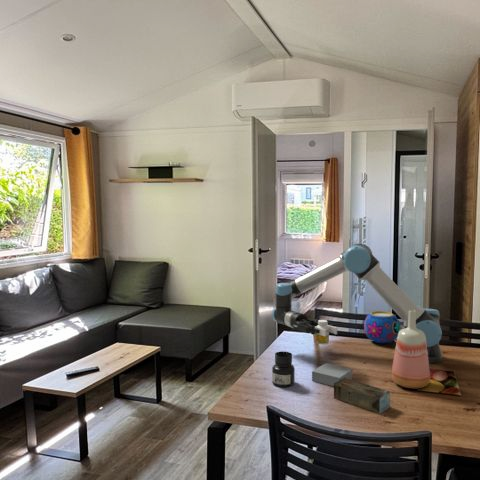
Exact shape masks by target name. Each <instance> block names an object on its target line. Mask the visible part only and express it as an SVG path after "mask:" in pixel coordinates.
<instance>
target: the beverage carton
mask: <svg viewBox="0 0 480 480" xmlns="http://www.w3.org/2000/svg"><path fill="white" fill-rule="evenodd" d="M333 399H336V400H339V401H342V402H345V403H348V404H350V405H353V406H356V407H359V408H362V409H364V410H366V411H367V410H368V411H371V412H374V413H376V414H382V413H383V412H384V411H387V410H388V409H389V408H390V407H391V391H388V390H386V389H382V388H380V387H376V386H373V385H370V384H367V383H364V382H361V381H358V380H356V379H355V380H354V379H353V378H352V379H349V378H343V379H341V380H339V381H338V382H335V383H334V386H333Z"/></svg>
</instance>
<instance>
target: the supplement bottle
mask: <svg viewBox="0 0 480 480" xmlns="http://www.w3.org/2000/svg"><path fill="white" fill-rule="evenodd" d="M327 322H328V320H326V319H318V324H319V325H317V327H319V328H322V329H325V330H326V336H322V335H319V334H316V333H315V342H316V344H317V345H320V346H321V345H328V344H329V343H330V332H329V327H328V326H327V324H328V323H329V322H328V323H327Z"/></svg>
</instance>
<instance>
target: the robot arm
mask: <svg viewBox="0 0 480 480" xmlns="http://www.w3.org/2000/svg"><path fill="white" fill-rule="evenodd" d="M345 272H351V273H352V274H354V276H356V277H357V278H358V279H359V280H361V281H365V282H366V283H367V284H368V285H369V287H371V289H373V290H374V291H375V292H376V293H377V294H378V296H379V297H380V298H382V300H383V301H384V302H385V303H386V304H387V306H389V308H391V309H392V310H393V312H394V313H396V315H397V316H398V317H399V318H400V319H401V320H402V321H403V327H404V328H407V327H408V316H409V310H414V311H416V328H417V329H419V330H421V331H423V332H424V333H425V336H426V343H427V352H428V361H429V364H437V363H440V362H442V361H443V353H442V350H441V346H440V341H441V339H442V335H443V332H442V328H441V325H440V316H441V315H440V311H439V310H438V309H433V308H423V307H422V308H421V307H418V305H416V304H415V303H414V302H413V300H411V298H410V297H409V296H408V295H407V294H406V293H405V292H404V291H403V290H402V289H401V288H400V287H399V286H398V285H397V284H396V283H395V281H394V280H392V279H391V277H389V275H388V274H387V273H386V272H385V271H384V270H383V269H382V268H381V266H380V260H378V259H377V257H375V256H374V255H373V252H372V250H371V248H370V247H369V246H368V245H366V244H364V243H355V244H354V245H351V246H350V247H349V248H347V249H346V250H345V251H343V252H342V253H340V255H339V257H337V258H335V259H332V260H330V261H329V262H327V263H325V264H323V265H321V266H319V267H317V268H315V269H313V270H311V271H309V272H307V273H306V274H303V275H302V276H300V277H298V278H296V279H294V280H292V281H290V282H279V283H277V284H276V286H275V306H274V308H273V309H272V311H271V315H270V316H271V318H272V320H273V321H274V322H276V323H278V324H281V325H285V326H287V327H289V328H291V329H295V330H298V331H302V332H304V333H306V334H309V333H310V335H316V334H319V335H322V336H326V330H325V329H322V328H319V327H317V325H319V324H318V320H319V319H318V318H315V319H311V318H308V317H307V315H305V314H304V313H301V312H298V311H296V310H292V309H293V308H292V301H293V299H294V298H295V297H298V296H300V295H301V294H303V293H305V292H307V291H310V290H311V289H314V288H315V287H317V286H320V285H322V284H324V283H325V282H328V281H329V280H331V279H333V278H335V277H338V276H340V275H341V274H345ZM327 323H328V324H327V326H328V327H329V334H330V333H331V334H334V335H338V327H336V326H333V325H331V323H330V322H328V321H327Z"/></svg>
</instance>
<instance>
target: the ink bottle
mask: <svg viewBox="0 0 480 480" xmlns="http://www.w3.org/2000/svg"><path fill="white" fill-rule="evenodd" d="M292 361H293V353H292V352H290V351H282V350H281V351H277V352H275V353H274V365H273V366H272V369H271V372H272V373H271V375H272V377H271V378H272V379H271V381H272V384H273V385H274V386H277V387H280V388H288V387H292V386H294V384H295V380H296V379H295V377H296V376H295V375H296V374H295V373H296V371H295V366H294V365H293V364H292V363H293V362H292Z"/></svg>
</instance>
